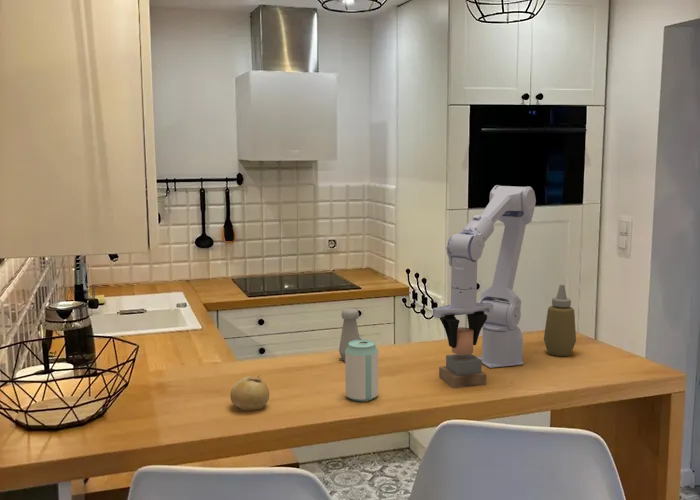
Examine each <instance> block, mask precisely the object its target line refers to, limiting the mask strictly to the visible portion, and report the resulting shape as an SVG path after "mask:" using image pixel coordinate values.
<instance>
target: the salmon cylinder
mask: <svg viewBox="0 0 700 500" xmlns="http://www.w3.org/2000/svg"><path fill="white" fill-rule="evenodd" d="M451 352H452V353H453V354H462V355H466V354H473V352H474V345H473V329H470V328H469V327H465V326H464V327H462V326H461V327H460V326H458V330H457V345H456V348H452V347H451Z"/></svg>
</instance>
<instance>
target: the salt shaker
mask: <svg viewBox="0 0 700 500" xmlns="http://www.w3.org/2000/svg"><path fill="white" fill-rule="evenodd" d="M359 317H360V313H359V311H358V309H356V308H351V307H350V308H344V309H343V310H342V311H341V319H343V322H342V323H343V324H342V328H341V336H340V341H339V349H338V352H339V353H338V354H340V357H341V359H343V360H342V361H344V362H345V350H346V349H347V347H348V343H349V342H350V341H353V340H361V338H360V333H359V329H358V322H357V319H359Z"/></svg>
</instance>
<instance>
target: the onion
mask: <svg viewBox="0 0 700 500" xmlns="http://www.w3.org/2000/svg"><path fill="white" fill-rule="evenodd" d="M260 376H261V374H260V373H259V374H258V375H257V376H248V375H247V376H243V377H242V378H240V379H239V380H237V381H236V382H235V383H234V384H233V386H232V388H231V390H230V401H231V403H232V404H233V405H234V407H235V408H237V409H238V410H242V411H248V412H250V411H256V410H257V411H258V410H260V409H262V408H263V407H264V406H266V404H267V403H268V402H269V399H270V389H269V386H268V385H267V383H266V382H264V381H263V380H262V379H261V378H260Z"/></svg>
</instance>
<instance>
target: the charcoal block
mask: <svg viewBox="0 0 700 500" xmlns="http://www.w3.org/2000/svg"><path fill="white" fill-rule="evenodd" d="M477 357H478V356H476V355H474V354H473V353H471V354H466V355H462V354H455V353H453V354H447V355H445V360H446V361H445V366H446V368H447V369H448V370H450V371H451V372H453V373H454V374H456V375H457V376H460V375H468V374H477V373H482V372H483V371H482V364H483V363H482V360H481V359H479V358H477Z"/></svg>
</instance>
